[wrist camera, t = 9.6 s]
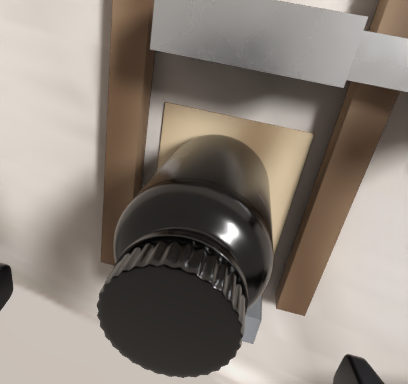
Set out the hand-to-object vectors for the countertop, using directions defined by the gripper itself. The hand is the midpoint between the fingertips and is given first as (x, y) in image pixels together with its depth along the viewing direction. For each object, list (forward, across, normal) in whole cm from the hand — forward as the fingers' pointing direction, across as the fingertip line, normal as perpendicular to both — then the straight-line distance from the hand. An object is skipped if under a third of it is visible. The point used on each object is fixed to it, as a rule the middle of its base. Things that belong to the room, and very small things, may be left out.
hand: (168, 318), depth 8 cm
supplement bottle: (+13, 0, +2) cm, 13 cm away
